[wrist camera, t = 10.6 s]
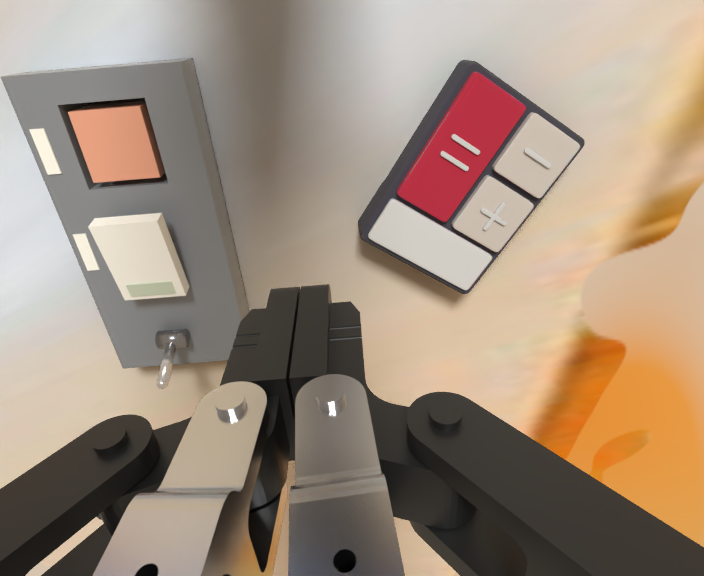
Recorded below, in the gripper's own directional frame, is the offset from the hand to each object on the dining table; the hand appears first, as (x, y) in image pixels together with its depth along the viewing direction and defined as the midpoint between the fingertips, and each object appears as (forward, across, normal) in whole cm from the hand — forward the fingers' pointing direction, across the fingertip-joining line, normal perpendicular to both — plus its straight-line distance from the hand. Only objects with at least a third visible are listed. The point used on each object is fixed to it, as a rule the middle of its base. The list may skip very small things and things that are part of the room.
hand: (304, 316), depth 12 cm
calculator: (+28, -11, +6) cm, 30 cm away
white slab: (+23, +15, +8) cm, 29 cm away
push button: (+27, +15, 0) cm, 31 cm away
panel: (+27, +15, +8) cm, 32 cm away
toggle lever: (+24, +15, +16) cm, 33 cm away
